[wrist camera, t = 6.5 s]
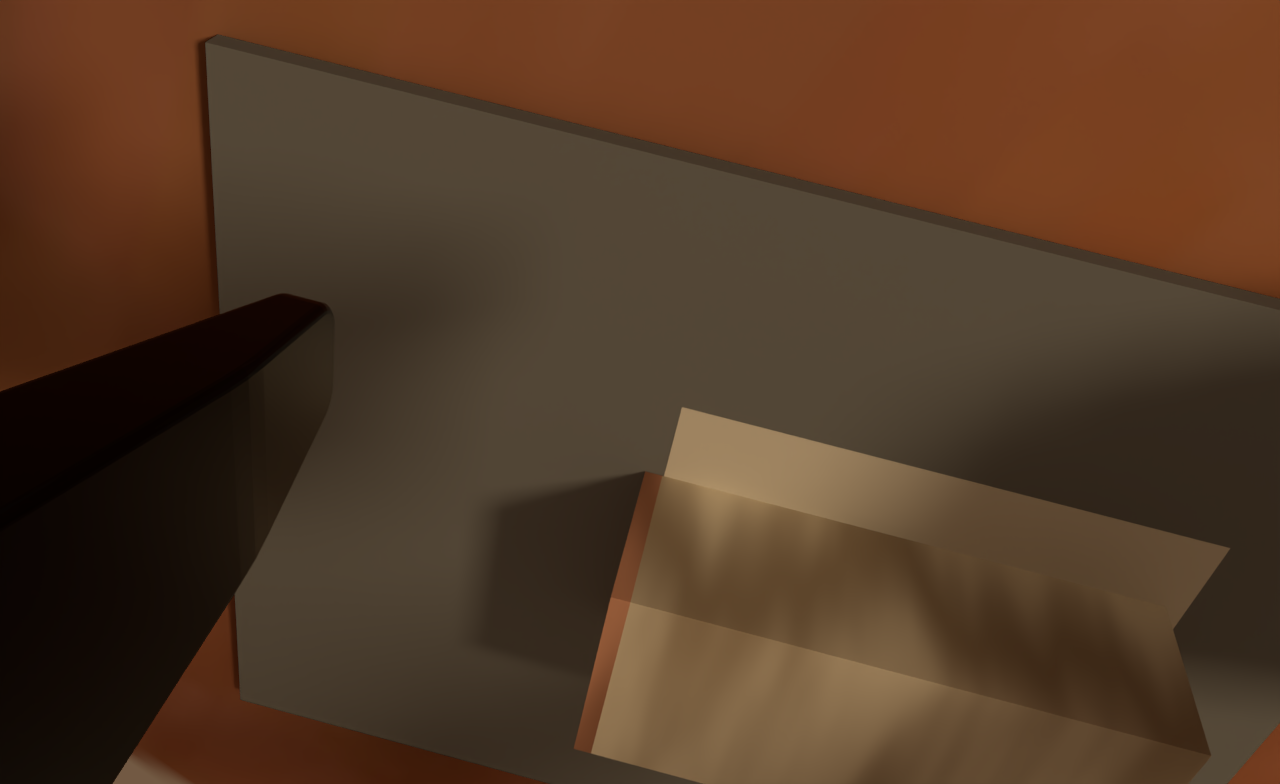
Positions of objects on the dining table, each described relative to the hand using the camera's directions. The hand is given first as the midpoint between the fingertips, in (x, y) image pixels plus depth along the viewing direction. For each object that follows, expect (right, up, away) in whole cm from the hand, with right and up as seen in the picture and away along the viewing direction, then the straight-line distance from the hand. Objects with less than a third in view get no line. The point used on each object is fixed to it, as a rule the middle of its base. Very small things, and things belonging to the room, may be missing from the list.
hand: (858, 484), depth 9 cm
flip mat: (+1, -4, +18) cm, 18 cm away
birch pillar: (-2, -4, +16) cm, 16 cm away
